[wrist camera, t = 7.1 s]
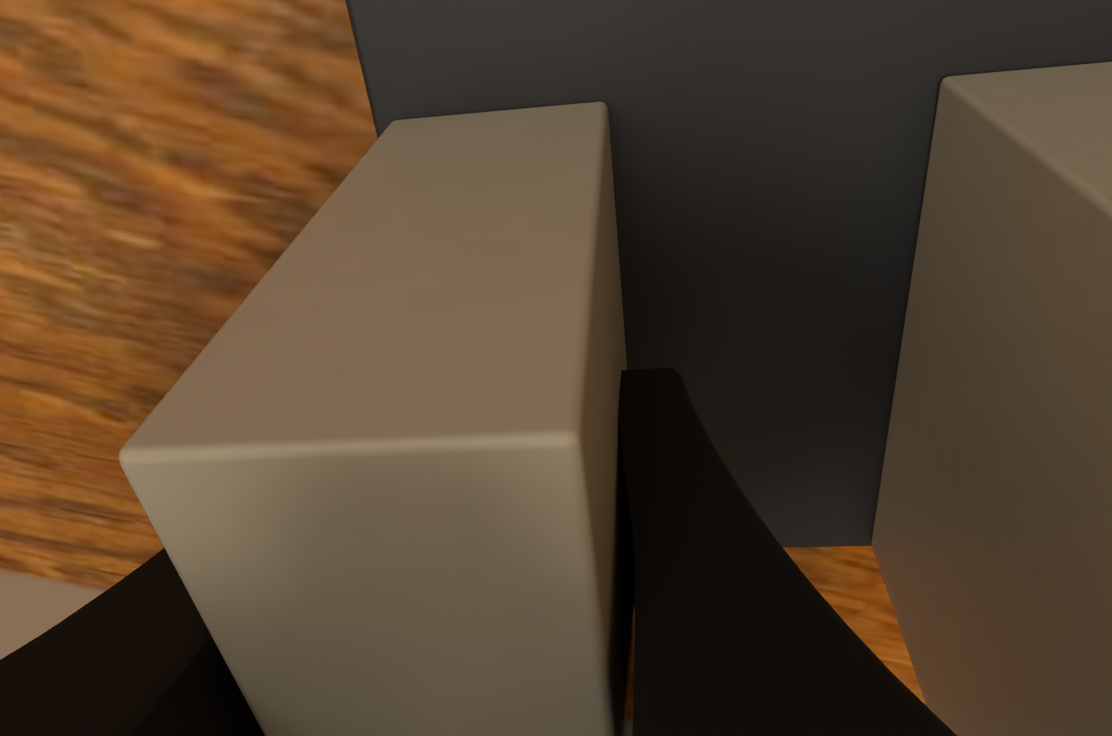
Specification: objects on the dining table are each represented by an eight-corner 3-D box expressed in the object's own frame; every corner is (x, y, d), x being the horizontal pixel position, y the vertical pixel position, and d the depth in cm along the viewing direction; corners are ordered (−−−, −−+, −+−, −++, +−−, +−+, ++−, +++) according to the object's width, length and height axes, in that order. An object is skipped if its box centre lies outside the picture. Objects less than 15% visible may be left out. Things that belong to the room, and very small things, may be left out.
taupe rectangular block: (640, 545, 13) (646, 1003, 8) (486, 548, 13) (397, 991, 8) (607, 99, 9) (580, 437, 4) (390, 118, 9) (106, 455, 4)
